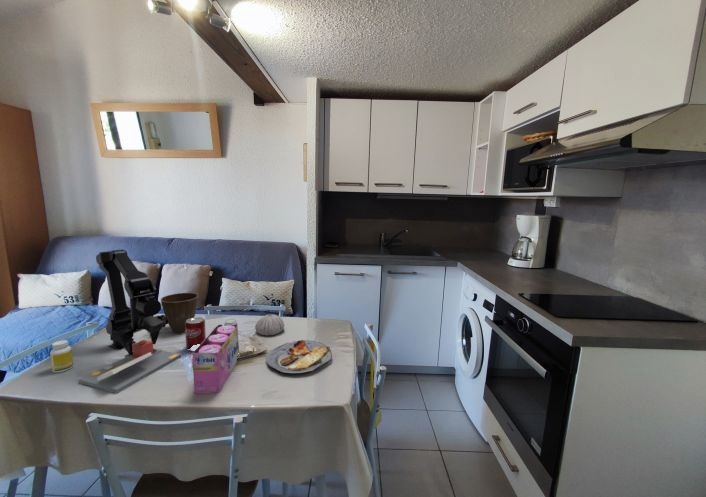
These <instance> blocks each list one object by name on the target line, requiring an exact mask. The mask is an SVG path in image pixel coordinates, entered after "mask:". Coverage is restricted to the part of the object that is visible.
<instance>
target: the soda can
mask: <svg viewBox="0 0 706 497" xmlns="http://www.w3.org/2000/svg"><path fill="white" fill-rule="evenodd" d="M184 333H185V349H186V348H187V349H190V348H191V347H192V346H193V345H197V344H201V343H202V342H203V341H204V340H205V339H206V338H207V335H206V318H204V317H201V316H199V317H198V316H197V317H196V316H195V317H194V318H190V319H188V320H186V322H185V332H184ZM187 349H186V350H187Z"/></svg>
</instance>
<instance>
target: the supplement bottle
mask: <svg viewBox="0 0 706 497" xmlns="http://www.w3.org/2000/svg"><path fill="white" fill-rule="evenodd" d="M51 346H52V349H51V351H50V352H49V355H50V356H49V357H50V364H51V372H53V373H55V374H56V373H63V372H66V371H68V370H70V369H72V368H73V366H74V362H73V351H72V347H71V346H70V345H69V340H68V339H67V340H66V339H65V340H58V341H55V342H53V343H52V344H51Z"/></svg>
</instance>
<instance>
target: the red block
mask: <svg viewBox="0 0 706 497" xmlns="http://www.w3.org/2000/svg"><path fill="white" fill-rule="evenodd" d="M132 347H133V356H134V357H140V356H143V355H145V354H147V353H149V352H151V353H153V348H154V344H153V342H152V341H151V340H146V339H143V340H140V341H138V342H135V343H134V344H132Z"/></svg>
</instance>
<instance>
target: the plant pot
mask: <svg viewBox="0 0 706 497" xmlns="http://www.w3.org/2000/svg"><path fill="white" fill-rule="evenodd" d="M198 299H199V295H198V294H197V293H193V292H180V293H173V294H169V295H165V296H162V297H161V298H160V303H161V308H162V310H163V315H165V316H166V317H167V318H168V324H167V325H168V326H169V329H171V331H172V333H173V334H183V333H185V322H186V320H188V319H190V318H195V317H196V313H197V312H196V311H197V307H198Z"/></svg>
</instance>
